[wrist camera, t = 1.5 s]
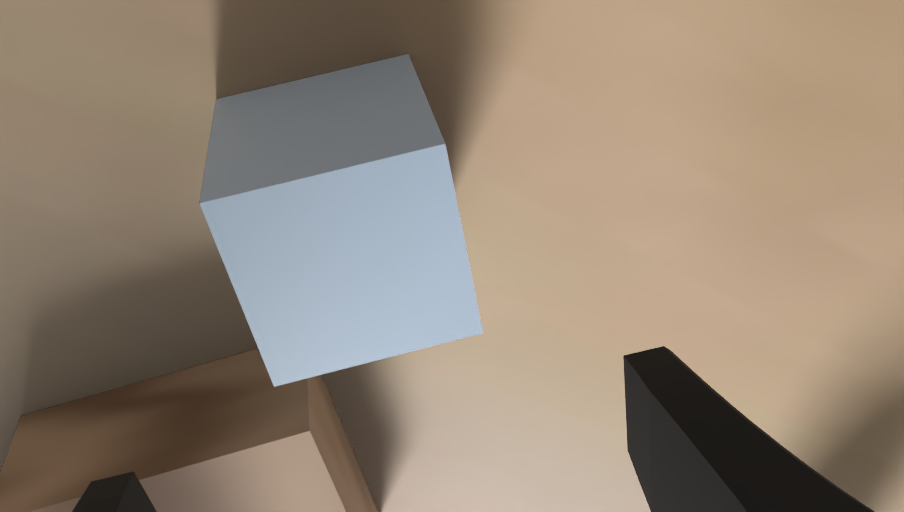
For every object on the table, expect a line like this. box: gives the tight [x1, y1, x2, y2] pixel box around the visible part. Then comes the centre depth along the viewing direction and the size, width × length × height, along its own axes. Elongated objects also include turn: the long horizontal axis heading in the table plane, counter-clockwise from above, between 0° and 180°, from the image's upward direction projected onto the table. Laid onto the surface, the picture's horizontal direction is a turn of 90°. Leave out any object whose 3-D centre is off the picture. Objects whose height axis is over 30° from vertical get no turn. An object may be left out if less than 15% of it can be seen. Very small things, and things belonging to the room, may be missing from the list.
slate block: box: [199, 54, 483, 387], centre depth 18 cm, size 4×4×5 cm
